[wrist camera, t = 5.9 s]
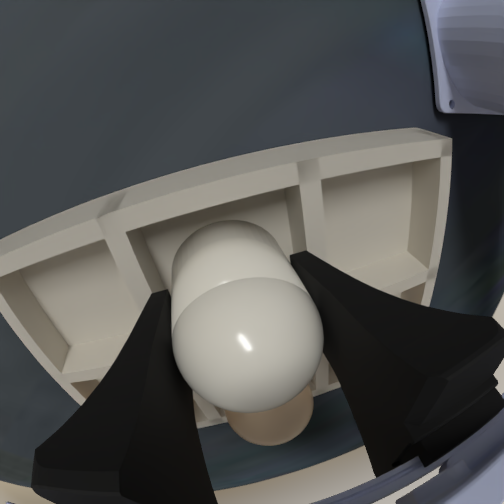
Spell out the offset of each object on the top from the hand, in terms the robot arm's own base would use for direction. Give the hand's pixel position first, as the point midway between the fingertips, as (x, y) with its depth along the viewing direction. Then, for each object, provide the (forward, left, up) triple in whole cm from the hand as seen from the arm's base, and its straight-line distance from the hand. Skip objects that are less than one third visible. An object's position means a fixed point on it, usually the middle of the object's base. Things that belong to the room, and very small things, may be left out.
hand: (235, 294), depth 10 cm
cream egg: (0, 0, -1) cm, 1 cm away
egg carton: (0, +3, -3) cm, 5 cm away
